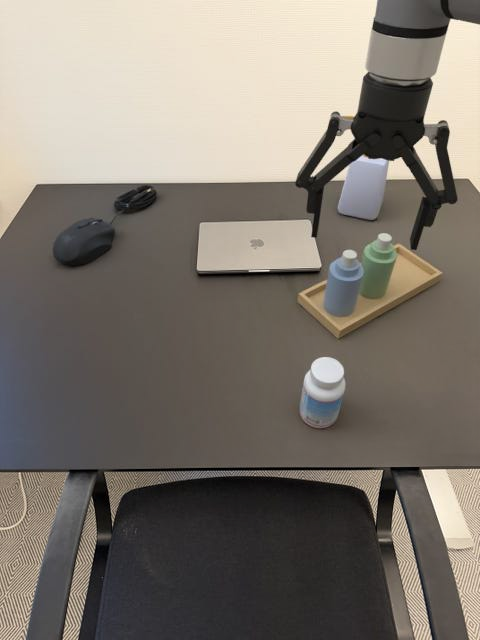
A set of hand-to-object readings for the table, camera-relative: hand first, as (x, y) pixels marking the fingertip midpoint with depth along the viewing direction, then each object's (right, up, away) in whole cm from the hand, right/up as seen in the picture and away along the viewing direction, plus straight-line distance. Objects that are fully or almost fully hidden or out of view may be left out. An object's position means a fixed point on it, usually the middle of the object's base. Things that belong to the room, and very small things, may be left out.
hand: (363, 238), depth 66 cm
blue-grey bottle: (+2, -9, +23) cm, 25 cm away
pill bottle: (-5, -26, +8) cm, 28 cm away
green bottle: (+9, -5, +27) cm, 28 cm away
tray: (+9, -6, +27) cm, 29 cm away
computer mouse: (-47, +10, +42) cm, 64 cm away
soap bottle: (+10, +16, +48) cm, 51 cm away
